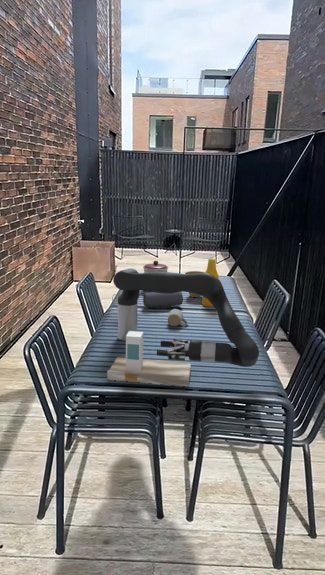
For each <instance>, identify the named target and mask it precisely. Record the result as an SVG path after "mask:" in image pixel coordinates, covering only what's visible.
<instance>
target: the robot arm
mask: <svg viewBox="0 0 325 575" xmlns="http://www.w3.org/2000/svg"><path fill="white" fill-rule="evenodd" d="M112 280H113V285H114V286H115V287H116V289H118V290H120V291H122V292H121V294H119V295H120V296H119V295H118V297H117V308H118V309H117V339H118V340H119V341H123V342H124V341H125V342H126V335H127V334H128V332H129V331H136V332H138V318H137V316H138V300H139V299H140V292H141V291H143V292H147V293H151V292H156V293H165V294H173V293H177V292H182V293H183V292H185V293H189V292H191V293H195V294H199V295H201V297H202V298H203V297H205V298H207V299H208V300H209V301H210V302H211V304H212V305H213V306H214V307H213V308H214V309H215V312H216V313H217V317H218V320H219V323H220V326H221V328H222V330H223V332H224V333H225V335H226V337H227V338H228V340H229V342H230V343H231V344H233V345H234V346H235V347H233V346H232V345H231V344H230V343H227V342H215V341H209V340H199V339H190V341H189V340H188V339H181V338H180V339H179V338H173V339H172V340H160V347H161V348H170V349H161V348H157V349H156V355H157V356H159V357H167V359H168V361H169V360H171V361H186V357H188V360H189V361H190V362H191V361H193V362H204V363H212V362H213V363H227V364H231V365H233V366H239V367H244V368H246V367H253V366H255V365H256V363H257V362H258V359H259V355H260V349H259V347H258V344H257V343H256V341H255V340H254V339H253V337H251V336H250V334H248V332H247V330H246V328H244V326H243V324H242V322H241V320H240V319H239V318H238V316H237V314H236V312H235V310H234V309H233V307H232V305H231V302H230V301H229V299H228V296H227V294H226V291H225V289H224V286H223V283H222V281H221V280H220V279H217V278H216V277H214V276H213V275H211V274H208V273H199V274H185V273H181V272H173V271H172V272H169V271H167V272H149V273H144V272H143V273H139V272H138V270H136V269H135V268H127V269H122V270H119V271H117V272H115V274H114V275H113V279H112Z"/></svg>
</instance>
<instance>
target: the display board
mask: <svg viewBox="0 0 325 575" xmlns="http://www.w3.org/2000/svg"><path fill="white" fill-rule="evenodd" d="M191 365H192V363H191V362H185V361H184V362H183V361H182V362H180V361H172V360H171V361H169V360H157V359H143V367H142V369H141V372H130V371H126V357H121V356H120V357H119V356H117V357H116V358H115V360H114V362H113V364H112V365H111V367H110V369H108V370H107V371H106V372H107V376H106V377H107V378H106V379H107V381H114V380H116V382H126V381H128V383H137V382H140V383H139V384H148V383H152V384H151V385H160V384H165V385H164V386H171V385H175V386H174V387H183V386H185V387H184V388H189V385H190V384H189V383H190V378H191V377H190V376H191V371H192V370H191V369H192V366H191Z"/></svg>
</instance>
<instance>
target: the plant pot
mask: <svg viewBox="0 0 325 575" xmlns="http://www.w3.org/2000/svg"><path fill="white" fill-rule="evenodd" d="M205 272H206V271H199V270H193V271H192V270H191V271H186V272H184V274H199V273H205ZM188 295H189V297H190V296H191V297H190V298H193V297H199V298H201V297H202V296H201V295H199V294H195V293H191V292H188Z"/></svg>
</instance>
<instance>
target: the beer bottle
mask: <svg viewBox="0 0 325 575" xmlns="http://www.w3.org/2000/svg"><path fill="white" fill-rule="evenodd" d="M216 261H217V260H216V258H208V262H207V266H206V270H205V271H204V272H205V273H208V274H211V275H213V276H214V277H216V278H217V279H219V278H220V277H219V274H218V273H219V272H218V271H217V262H216ZM219 280H220V279H219ZM201 300H202V301H201V302H202V303H201V304H202V305H203V306H204V307H209V308H211V307H213V308H214V306H213V305H212V304H211V302H210V301H209V300H208V299H207V298H205V297H203V296H202V298H201Z"/></svg>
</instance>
